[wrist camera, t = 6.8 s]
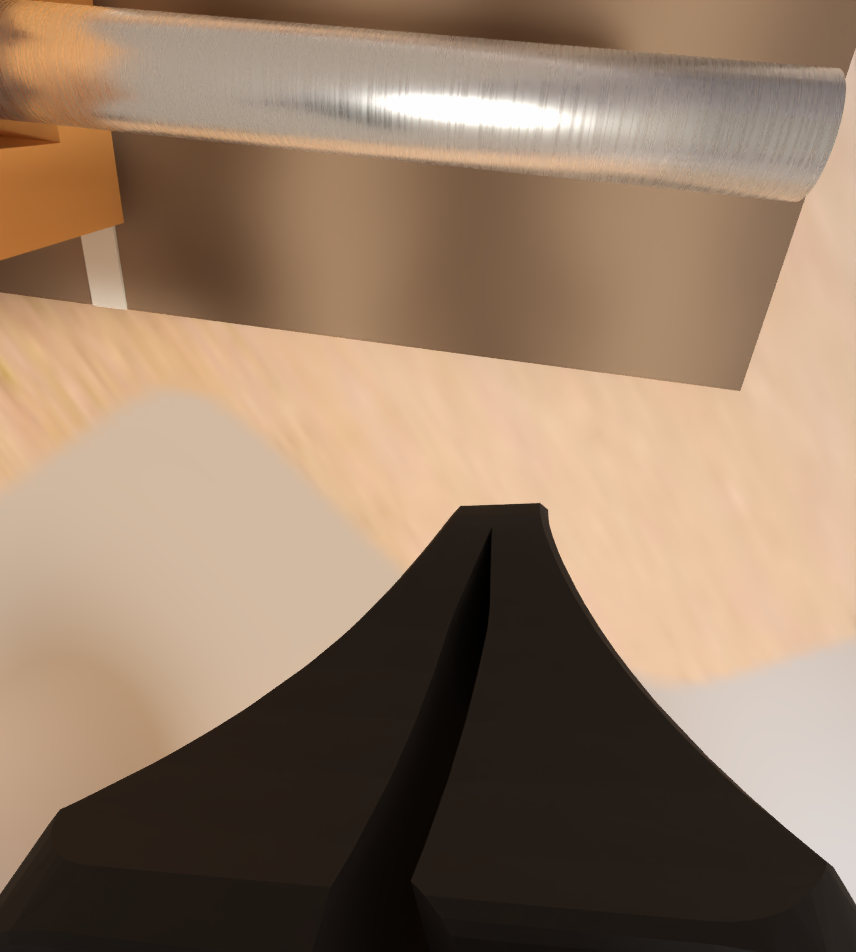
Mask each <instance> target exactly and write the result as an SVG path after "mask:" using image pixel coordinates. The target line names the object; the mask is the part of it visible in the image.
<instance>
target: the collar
mask: <svg viewBox="0 0 856 952" xmlns="http://www.w3.org/2000/svg"><path fill="white" fill-rule="evenodd" d="M30 1H42V2H54V3H66V4H78V5H90V6H93V0H30ZM122 223H124V219H123V212H122V205H121V198H120V191H119V184H118V177H117V170H116V163H115V155H114V148H113V141H112V134H111V131H108V130H98V129H89V128H79V127H70V126H60V125H50V124H41V123H31V122H21V121H12V120H2V119H0V260H4V259H7V258H10V257H14V256H17V255H20V254H23V253H27V252H30V251H33V250H37V249H40V248H43V247H46V246H50V245H53V244H56V243H59V242H63V241H66V240H69V239H73V238H76V237H79V236H82V235H86V234H89V233H92V232H96V231H99V230H102V229H105V228H109V227H112V226H115V225H119V224H122Z"/></svg>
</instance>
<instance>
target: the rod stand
mask: <svg viewBox="0 0 856 952" xmlns="http://www.w3.org/2000/svg"><path fill="white" fill-rule="evenodd" d="M855 48H856V0H93V6H90V5H78V4H66V3H54V2H42V1H30V0H0V119H2V120H12V121H21V122H31V123H41V124H50V125H60V126H70V127H79V128H89V129H98V130H108V131H111V134H112V141H113V148H114V155H115V163H116V170H117V177H118V184H119V191H120V198H121V205H122V212H123V219H124V223H122V224H119V225H115V226H112V227H109V228H105V229H102V230H99V231H96V232H92V233H89V234H86V235H82V236H79V237H76V238H73V239H69V240H66V241H63V242H59V243H56V244H53V245H50V246H46V247H43V248H40V249H37V250H33V251H30V252H27V253H23V254H20V255H17V256H14V257H10V258H7V259H4V260H0V292H2V293H10V294H17V295H25V296H32V297H40V298H47V299H55V300H62V301H70V302H77V303H85V304H92V305H93V306H98V307H106V308H113V309H121V310H127V309H130V310H137V311H145V312H152V313H160V314H167V315H175V316H182V317H190V318H197V319H205V320H212V321H220V322H227V323H235V324H242V325H250V326H257V327H265V328H272V329H280V330H287V331H295V332H302V333H310V334H317V335H325V336H332V337H340V338H347V339H355V340H362V341H370V342H377V343H385V344H392V345H400V346H407V347H415V348H422V349H430V350H437V351H445V352H452V353H460V354H467V355H475V356H482V357H490V358H497V359H505V360H512V361H520V362H527V363H535V364H542V365H550V366H557V367H565V368H572V369H580V370H587V371H595V372H602V373H610V374H617V375H625V376H632V377H640V378H647V379H655V380H662V381H670V382H678V383H685V384H693V385H700V386H708V387H715V388H723V389H730V390H738V391H740V390H741V387H742V384H743V381H744V378H745V375H746V372H747V369H748V366H749V363H750V360H751V357H752V354H753V351H754V348H755V345H756V342H757V339H758V336H759V333H760V330H761V327H762V324H763V321H764V318H765V315H766V312H767V309H768V307H769V304H770V301H771V298H772V295H773V292H774V289H775V286H776V283H777V280H778V277H779V274H780V271H781V268H782V265H783V262H784V259H785V256H786V253H787V250H788V247H789V244H790V241H791V238H792V235H793V232H794V229H795V226H796V223H797V220H798V217H799V214H800V211H801V208H802V205H803V202H804V200H805V197H806V195H807V194H808V193H809V192H810V190H811V189H812V188H813V186H814V185H815V183H816V182H817V180H818V178H819V177H820V175H821V173H822V171H823V169H824V167H825V165H826V162H827V160H828V158H829V156H830V153H831V151H832V148H833V145H834V142H835V139H836V136H837V133H838V130H839V126H840V123H841V118H842V114H843V109H844V103H845V93H846V82H845V78H846V75H847V72H848V69H849V66H850V63H851V60H852V57H853V54H854V51H855Z"/></svg>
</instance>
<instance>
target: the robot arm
mask: <svg viewBox="0 0 856 952" xmlns="http://www.w3.org/2000/svg"><path fill="white" fill-rule="evenodd" d="M0 952H856V904H855V902H854V901H853V899H852V897H851V896H850V894H849V892H848V891H847V889H846V887H845V886H844V884H843V882H842V881H841V879H840V877H839V876H838V874H837V872H836V871H835V869H834V868H833V866H831V865H830V864H829V863H827V862H826V861H825V860H824V859H823V858H821V857H820V856H819V855H818V854H817V853H815V852H814V851H813V850H812V849H810V848H809V847H808V846H807V845H806V844H804V843H803V842H802V841H801V840H800V839H798V838H797V837H796V836H795V835H794V834H792V833H791V832H790V831H789V830H788V829H786V828H785V827H784V826H783V825H782V824H780V823H779V822H778V821H777V820H776V819H775V818H774V817H773V816H771V815H770V814H769V813H768V812H767V811H766V810H764V809H763V808H762V807H761V806H760V805H759V804H758V803H756V802H755V801H754V800H753V799H752V798H751V797H750V796H749V795H747V794H746V793H745V792H744V791H743V790H742V789H741V788H740V787H739V786H738V785H737V784H736V783H735V782H734V781H733V780H732V779H731V778H730V777H728V776H727V775H726V774H725V773H724V772H723V771H722V770H721V769H720V768H719V767H718V766H717V765H716V764H715V763H714V762H713V761H712V760H710V759H709V758H708V757H707V756H706V755H705V754H704V753H703V751H702V750H701V749H700V748H699V747H698V746H697V745H696V744H695V743H694V742H693V741H692V740H691V739H690V738H689V737H688V735H687V734H686V733H685V732H684V731H683V730H682V729H681V728H680V727H679V726H678V725H677V724H676V723H675V722H674V721H673V720H672V718H671V717H670V716H669V715H668V714H667V713H666V712H665V711H664V710H663V709H662V708H661V707H660V706H659V705H658V704H657V702H656V701H655V700H654V699H653V698H652V697H651V695H650V694H649V693H648V692H647V690H646V689H645V688H644V687H643V686H642V684H641V683H640V682H639V681H638V679H637V678H636V677H635V676H634V675H633V673H632V672H631V671H630V669H629V668H628V667H627V666H626V664H625V663H624V662H623V660H622V659H621V658H620V656H619V655H618V654H617V652H616V651H615V650H614V648H613V647H612V645H611V644H610V642H609V641H608V640H607V638H606V637H605V635H604V634H603V632H602V631H601V629H600V628H599V626H598V625H597V623H596V621H595V620H594V618H593V617H592V615H591V613H590V612H589V610H588V608H587V607H586V605H585V604H584V602H583V600H582V598H581V596H580V595H579V593H578V591H577V589H576V587H575V585H574V583H573V581H572V579H571V577H570V575H569V574H568V572H567V570H566V568H565V566H564V564H563V561H562V559H561V557H560V555H559V552H558V550H557V547H556V544H555V542H554V539H553V536H552V533H551V530H550V526H549V518H548V509H546V508H545V507H544V506H543V505H542V504H540V503H532V504H505V505H478V506H460V507H459V508H458V509H457V510H456V511H455V512H454V514H453V515H452V516H451V517H450V519H449V520H448V521H447V522H446V524H445V525H444V526H443V527H442V529H441V530H440V531H439V532H438V534H437V535H436V536H435V537H434V539H433V540H432V541H431V542H430V544H429V545H428V546H427V547H426V548H425V550H424V551H423V552H422V553H421V555H420V556H419V557H418V558H417V559H416V560H415V561H414V563H413V564H412V565H411V566H410V567H409V568H408V570H407V571H406V572H405V573H404V574H403V575H402V576H401V578H400V579H399V580H398V581H397V582H396V583H395V584H394V586H392V588H391V589H390V590H389V591H388V592H387V593H386V594H385V595H384V596H383V597H382V598H381V599H380V600H379V601H378V602H377V603H376V604H375V605H374V606H373V607H372V608H371V609H370V610H369V611H368V612H367V613H366V614H365V615H364V616H363V617H362V618H361V619H360V620H359V621H358V622H357V623H356V624H355V625H354V626H353V627H352V628H351V629H350V630H348V631H347V632H346V633H345V634H344V635H343V636H342V637H341V638H340V639H338V640H337V641H336V642H335V643H334V644H332V645H331V646H330V647H329V648H327V649H326V650H325V651H324V652H323V653H322V654H320V655H319V656H318V657H317V658H316V659H314V660H313V661H312V662H310V663H309V664H308V665H307V666H305V667H304V668H303V669H301V670H300V671H299V672H297V673H296V674H294V675H293V676H292V677H290V678H289V679H287V680H286V681H284V682H283V683H282V684H280V685H279V686H277V687H276V688H275V689H273V690H272V691H270V692H269V693H267V694H266V695H265V696H263V697H262V698H261V699H259V700H258V701H256V702H255V703H253V704H252V705H251V706H249V707H248V708H246V709H245V710H243V711H242V712H240V713H238V714H237V715H235V716H234V717H232V718H230V719H229V720H227V721H226V722H224V723H222V724H221V725H219V726H218V727H216V728H214V729H213V730H211V731H209V732H208V733H206V734H204V735H203V736H201V737H199V738H197V739H196V740H194V741H192V742H191V743H189V744H187V745H185V746H184V747H182V748H180V749H179V750H177V751H175V752H173V753H171V754H169V755H168V756H166V757H164V758H162V759H160V760H159V761H157V762H155V763H153V764H151V765H149V766H147V767H145V768H143V769H141V770H139V771H137V772H136V773H133V774H131V775H129V776H127V777H125V778H123V779H121V780H119V781H117V782H116V783H114V784H111V785H109V786H107V787H106V788H103V789H102V790H100V791H98V792H96V793H94V794H92V795H90V796H88V797H86V798H84V799H82V800H80V801H77V802H75V803H73V804H71V805H69V806H67V807H65V808H62V809H60V811H59V812H58V813H57V814H56V816H55V817H54V818H53V820H52V821H51V822H50V824H49V825H48V826H47V828H46V829H45V831H44V832H43V834H42V835H41V836H40V838H39V839H38V841H37V842H36V844H35V845H34V847H33V848H32V849H31V851H30V852H29V854H28V855H27V857H26V858H25V860H24V861H23V862H22V864H21V865H20V867H19V868H18V869H17V871H16V872H15V874H14V875H13V877H12V878H11V879H10V881H9V882H8V884H7V885H6V887H5V888H4V890H3V891H2V893H1V894H0Z"/></svg>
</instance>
